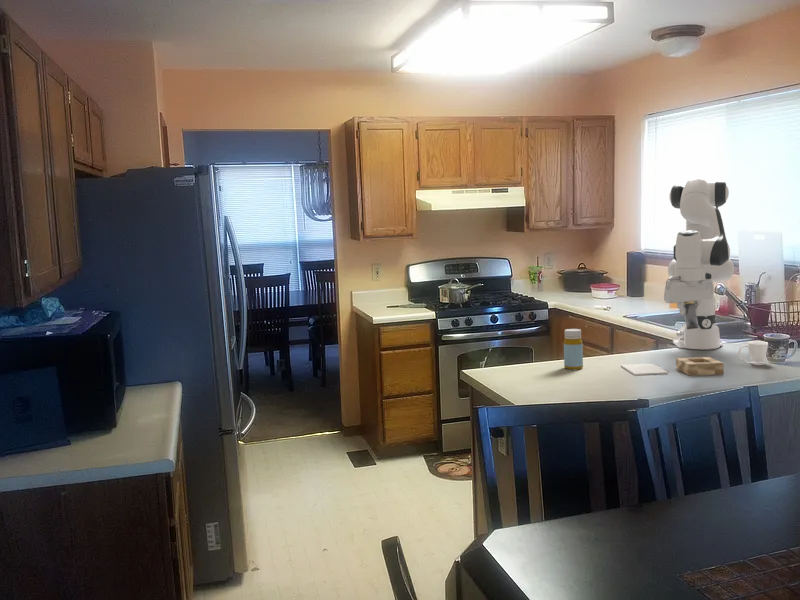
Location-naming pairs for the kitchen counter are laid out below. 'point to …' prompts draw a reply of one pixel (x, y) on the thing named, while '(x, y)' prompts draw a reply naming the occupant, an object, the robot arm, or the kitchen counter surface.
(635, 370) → the mat
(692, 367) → the block
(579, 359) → the bottle
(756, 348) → the cup
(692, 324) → the peg
